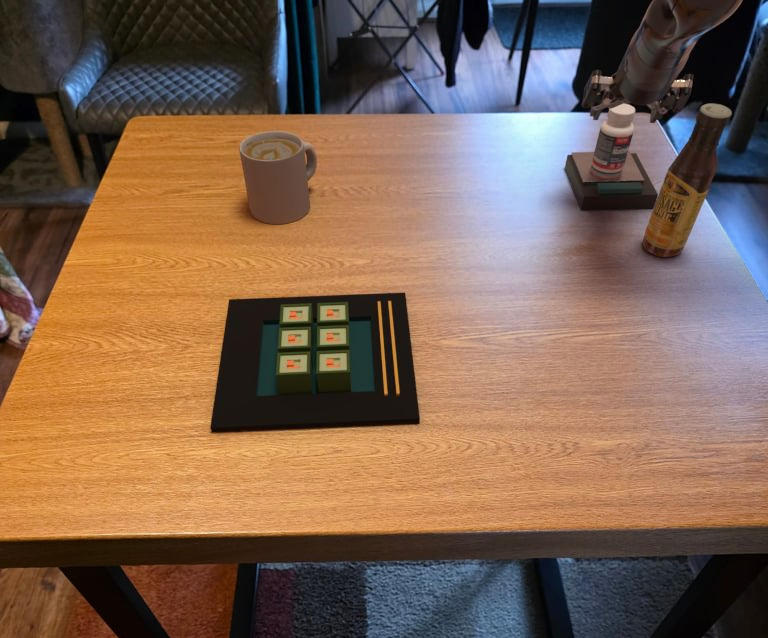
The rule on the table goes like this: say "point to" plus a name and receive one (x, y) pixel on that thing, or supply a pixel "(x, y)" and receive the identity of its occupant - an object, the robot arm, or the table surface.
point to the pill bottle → (614, 139)
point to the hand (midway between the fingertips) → (624, 115)
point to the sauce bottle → (686, 184)
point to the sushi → (315, 363)
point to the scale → (610, 184)
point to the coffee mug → (277, 175)
